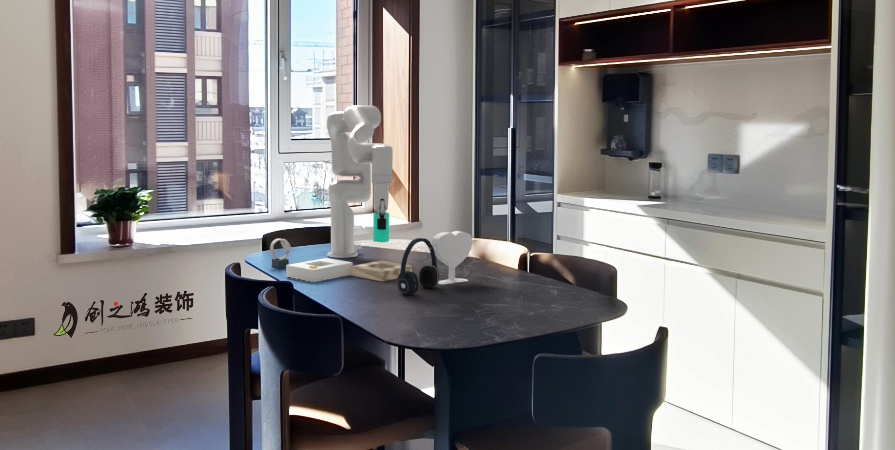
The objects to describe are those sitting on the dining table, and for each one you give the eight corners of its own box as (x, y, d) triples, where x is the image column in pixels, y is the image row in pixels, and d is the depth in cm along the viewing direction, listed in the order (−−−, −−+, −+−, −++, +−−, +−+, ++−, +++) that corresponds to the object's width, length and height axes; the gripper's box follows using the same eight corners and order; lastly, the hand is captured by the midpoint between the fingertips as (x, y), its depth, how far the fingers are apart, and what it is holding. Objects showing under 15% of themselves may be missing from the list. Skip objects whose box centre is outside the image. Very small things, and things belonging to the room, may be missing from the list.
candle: (386, 242, 319) (387, 210, 317) (370, 241, 320) (371, 209, 318) (391, 240, 324) (391, 208, 323) (375, 239, 326) (375, 207, 324)
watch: (293, 266, 337) (293, 238, 336) (274, 269, 332) (274, 240, 331) (286, 264, 341) (286, 237, 340) (267, 266, 336) (267, 238, 335)
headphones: (411, 298, 287) (411, 243, 284) (393, 295, 290) (394, 241, 288) (442, 287, 304) (443, 235, 301) (425, 285, 307) (426, 234, 305)
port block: (326, 269, 333) (326, 256, 332) (352, 274, 324) (352, 260, 323) (286, 277, 317) (286, 263, 316) (313, 282, 308) (313, 268, 308)
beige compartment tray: (379, 269, 334) (380, 260, 334) (411, 275, 325) (411, 265, 324) (350, 275, 322) (350, 266, 321) (382, 281, 312) (383, 271, 312)
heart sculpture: (464, 277, 321) (465, 229, 319) (472, 280, 317) (473, 231, 315) (430, 282, 312) (430, 232, 310) (438, 284, 308) (439, 234, 306)
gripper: (370, 176, 326) (370, 224, 329) (372, 181, 310) (371, 232, 313) (390, 176, 327) (390, 224, 330) (393, 181, 311) (392, 232, 313)
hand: (381, 227), depth 321 cm, fingers closed on candle, 4 cm apart
